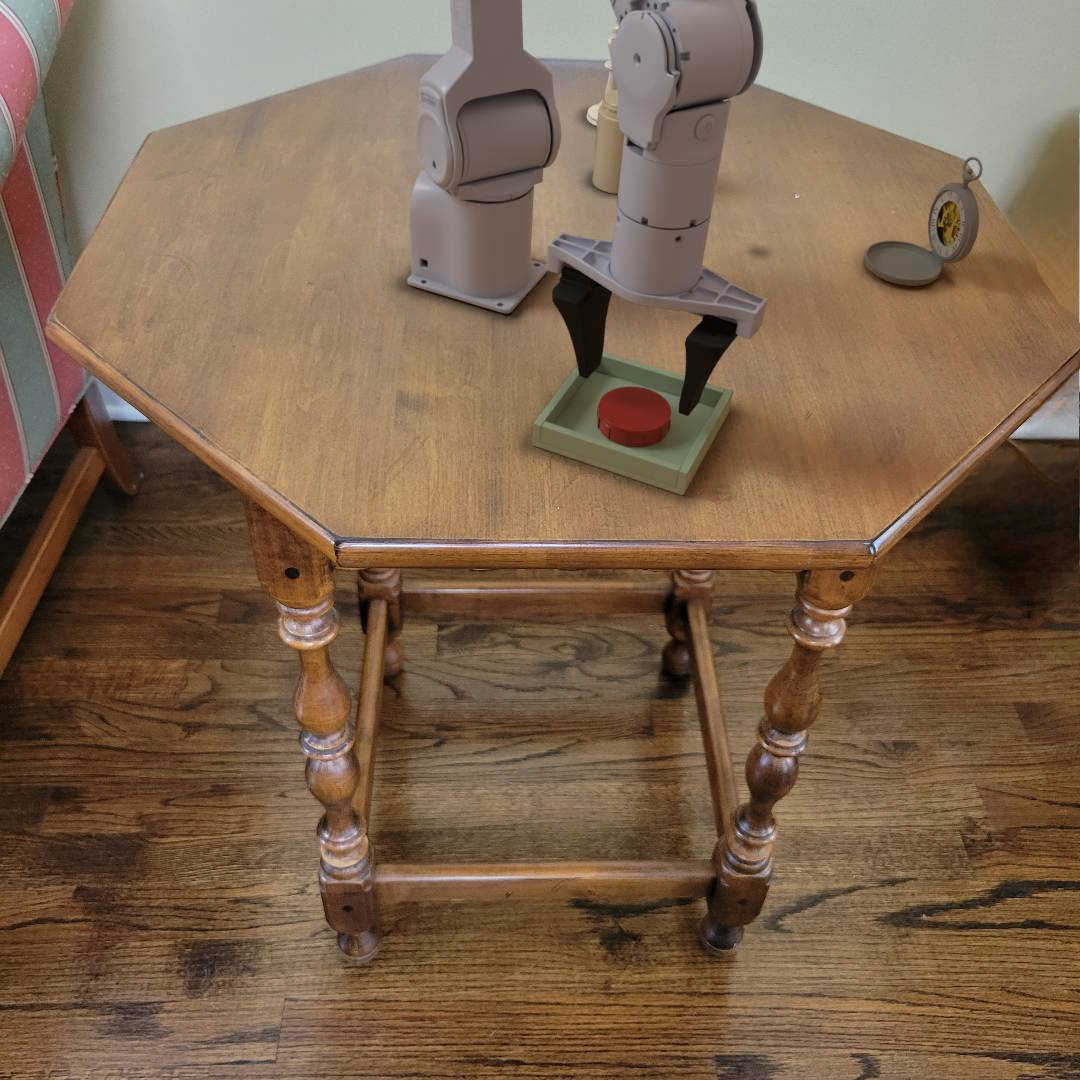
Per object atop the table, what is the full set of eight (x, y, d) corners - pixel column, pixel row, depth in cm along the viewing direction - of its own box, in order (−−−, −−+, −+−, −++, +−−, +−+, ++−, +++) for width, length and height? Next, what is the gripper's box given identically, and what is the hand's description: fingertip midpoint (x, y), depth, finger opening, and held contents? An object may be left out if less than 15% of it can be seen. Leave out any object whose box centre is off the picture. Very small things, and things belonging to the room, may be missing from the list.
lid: (649, 456, 74) (651, 440, 73) (584, 430, 75) (585, 414, 74) (680, 418, 77) (683, 402, 76) (617, 393, 78) (619, 377, 77)
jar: (584, 187, 102) (591, 101, 96) (603, 166, 105) (611, 83, 100) (631, 199, 101) (641, 113, 95) (648, 178, 104) (659, 94, 98)
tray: (531, 445, 75) (533, 422, 73) (588, 369, 81) (590, 347, 80) (683, 496, 72) (687, 473, 70) (728, 412, 78) (733, 390, 77)
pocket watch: (847, 267, 94) (878, 158, 87) (898, 236, 98) (932, 130, 91) (928, 306, 90) (968, 195, 83) (978, 272, 94) (1020, 164, 87)
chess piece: (641, 117, 114) (652, 19, 107) (618, 133, 111) (629, 33, 104) (601, 105, 116) (609, 7, 109) (577, 120, 113) (585, 21, 106)
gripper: (800, 213, 65) (757, 393, 74) (588, 150, 69) (573, 327, 79) (758, 263, 60) (718, 448, 70) (534, 193, 65) (525, 375, 74)
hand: (638, 388), depth 74 cm, fingers open, 7 cm apart
